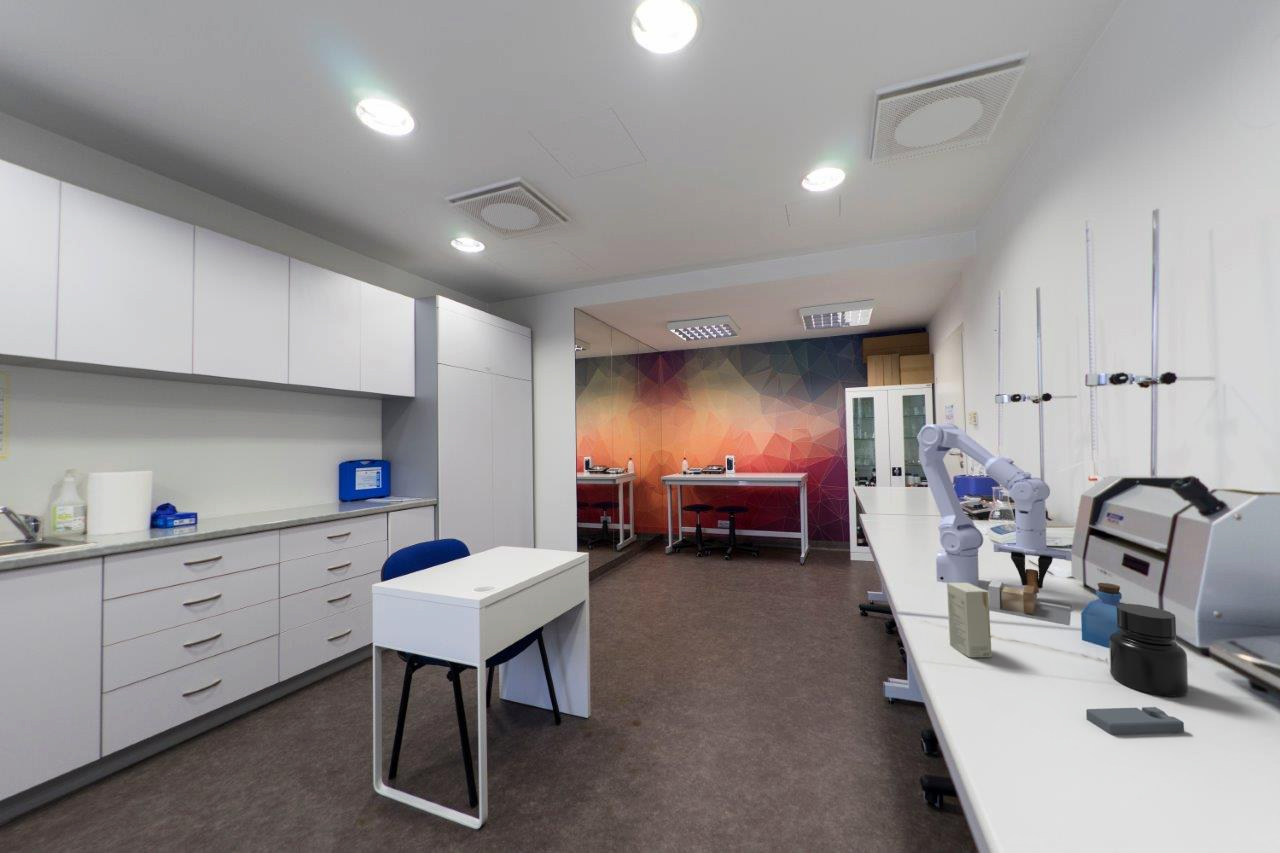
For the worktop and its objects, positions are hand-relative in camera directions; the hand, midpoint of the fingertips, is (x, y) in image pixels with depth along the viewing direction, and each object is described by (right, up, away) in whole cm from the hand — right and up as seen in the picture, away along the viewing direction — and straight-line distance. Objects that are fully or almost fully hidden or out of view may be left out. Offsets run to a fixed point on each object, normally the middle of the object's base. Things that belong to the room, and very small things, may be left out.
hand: (1032, 586), depth 117 cm
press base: (-4, -4, -4) cm, 7 cm away
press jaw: (-4, -3, -4) cm, 6 cm away
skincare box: (-31, -5, -23) cm, 39 cm away
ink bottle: (-10, -4, -37) cm, 38 cm away
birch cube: (-8, -4, -5) cm, 10 cm away
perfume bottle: (-4, -5, -23) cm, 24 cm away
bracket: (-24, -5, -48) cm, 53 cm away
